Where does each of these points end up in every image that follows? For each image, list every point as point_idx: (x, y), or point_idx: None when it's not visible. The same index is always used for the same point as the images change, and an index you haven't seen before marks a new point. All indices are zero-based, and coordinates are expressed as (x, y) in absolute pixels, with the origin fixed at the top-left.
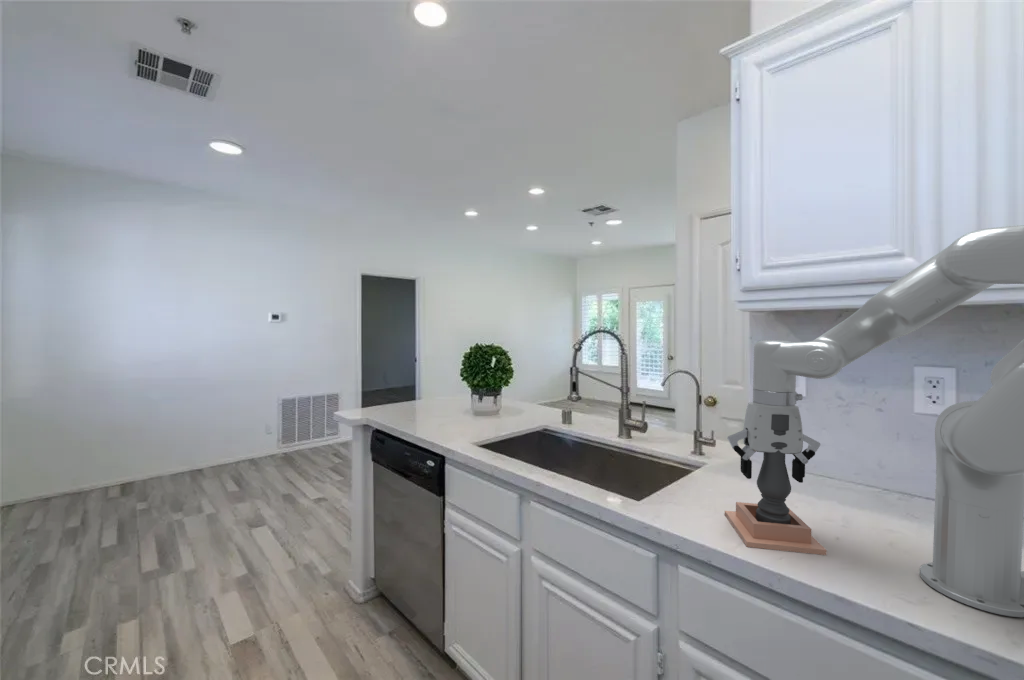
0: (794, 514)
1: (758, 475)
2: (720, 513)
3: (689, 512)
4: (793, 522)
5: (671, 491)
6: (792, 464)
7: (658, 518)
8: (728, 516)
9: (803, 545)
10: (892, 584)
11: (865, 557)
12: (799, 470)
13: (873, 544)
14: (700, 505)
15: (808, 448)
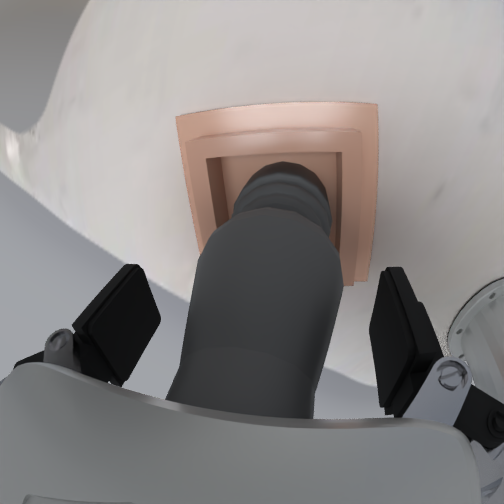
0: (357, 199)
1: (194, 279)
2: (172, 109)
3: (105, 139)
4: (339, 221)
5: (80, 32)
6: (401, 327)
7: (66, 197)
8: (181, 152)
9: None
10: None
11: (435, 266)
12: (378, 379)
13: (486, 210)
14: (129, 79)
15: (481, 462)
